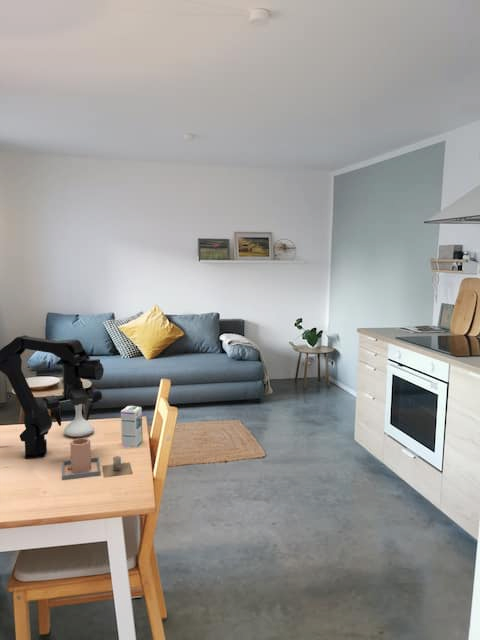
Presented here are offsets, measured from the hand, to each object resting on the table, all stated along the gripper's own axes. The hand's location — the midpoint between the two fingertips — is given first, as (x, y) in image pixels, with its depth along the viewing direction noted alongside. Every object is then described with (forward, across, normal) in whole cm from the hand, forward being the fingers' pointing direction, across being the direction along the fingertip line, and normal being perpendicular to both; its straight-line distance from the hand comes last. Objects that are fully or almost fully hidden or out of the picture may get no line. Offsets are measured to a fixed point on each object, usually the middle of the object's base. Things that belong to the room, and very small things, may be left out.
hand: (73, 422), depth 171 cm
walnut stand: (+13, +7, -18) cm, 23 cm away
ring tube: (+12, -2, -12) cm, 17 cm away
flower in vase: (+13, +9, +22) cm, 27 cm away
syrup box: (+13, +21, -1) cm, 25 cm away
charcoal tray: (+13, -2, -11) cm, 17 cm away
